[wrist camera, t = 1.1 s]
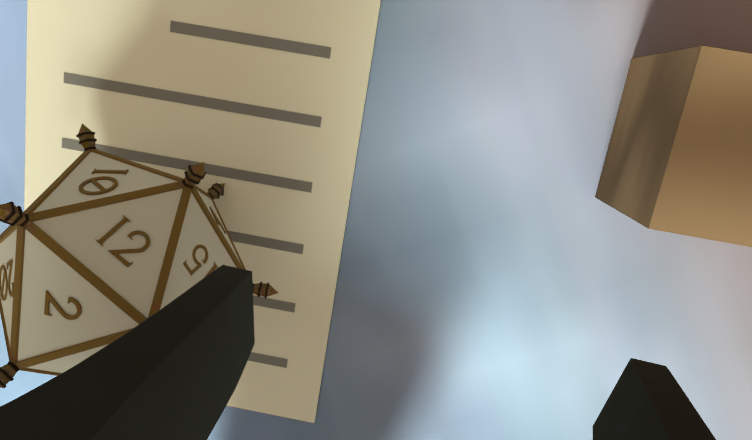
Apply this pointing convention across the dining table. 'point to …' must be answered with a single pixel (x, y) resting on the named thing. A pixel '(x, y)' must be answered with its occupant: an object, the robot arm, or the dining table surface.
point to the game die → (103, 256)
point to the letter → (223, 140)
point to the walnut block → (684, 145)
